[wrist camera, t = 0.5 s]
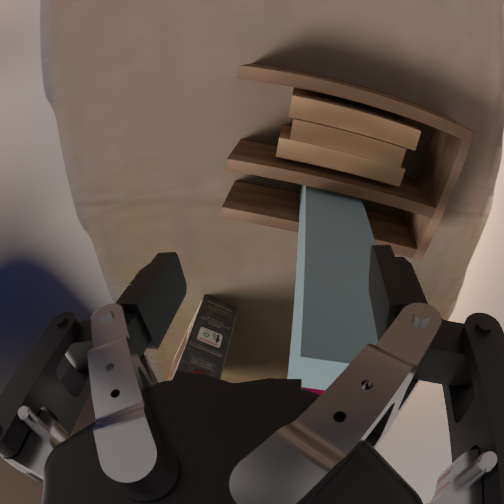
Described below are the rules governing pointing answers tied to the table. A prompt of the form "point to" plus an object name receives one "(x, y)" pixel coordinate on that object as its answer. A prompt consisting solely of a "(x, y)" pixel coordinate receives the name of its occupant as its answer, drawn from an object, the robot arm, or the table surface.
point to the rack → (404, 197)
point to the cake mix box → (206, 340)
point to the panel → (330, 287)
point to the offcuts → (346, 136)
